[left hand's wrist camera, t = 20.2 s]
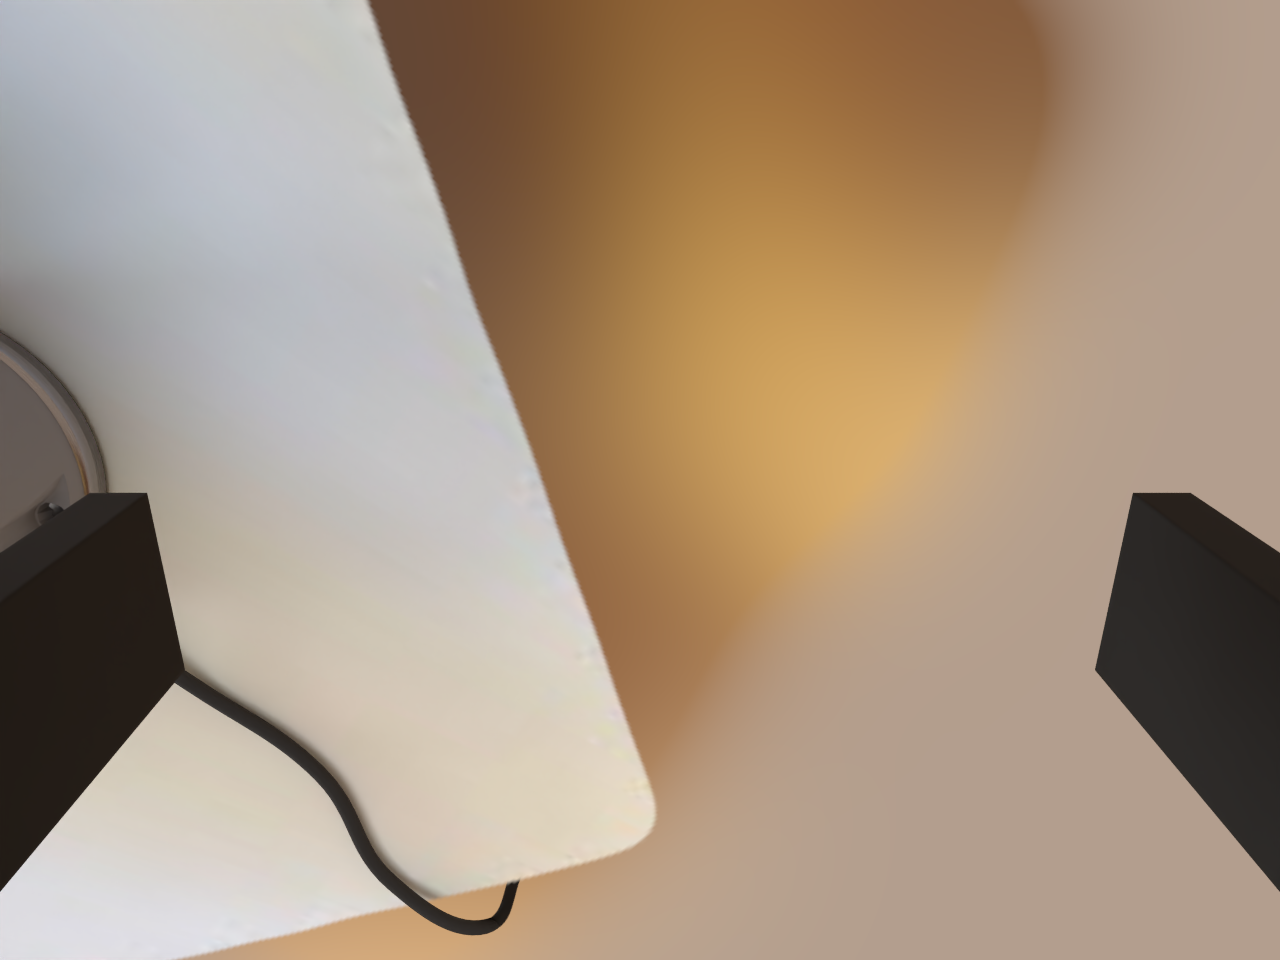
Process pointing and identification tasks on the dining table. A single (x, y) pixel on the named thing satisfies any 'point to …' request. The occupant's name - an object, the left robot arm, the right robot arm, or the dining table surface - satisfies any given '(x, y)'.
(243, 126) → the dining table surface
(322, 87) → the dining table surface
